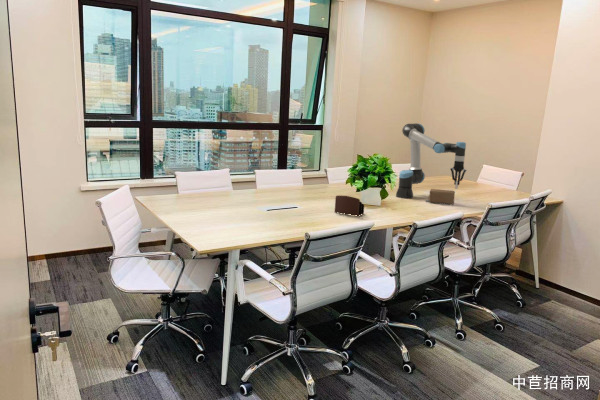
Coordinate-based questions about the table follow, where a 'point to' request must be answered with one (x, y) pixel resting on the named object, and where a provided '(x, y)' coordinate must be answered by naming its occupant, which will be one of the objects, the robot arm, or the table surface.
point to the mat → (437, 203)
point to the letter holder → (349, 205)
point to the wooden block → (441, 196)
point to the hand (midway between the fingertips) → (456, 188)
